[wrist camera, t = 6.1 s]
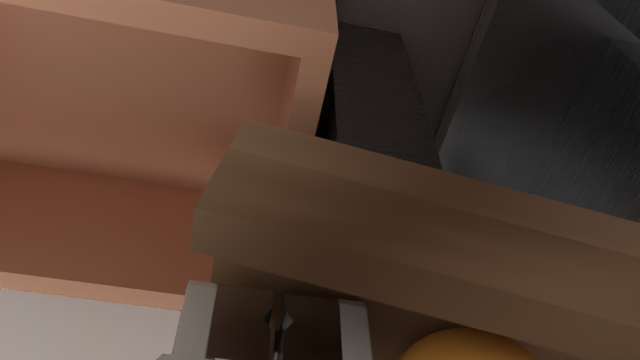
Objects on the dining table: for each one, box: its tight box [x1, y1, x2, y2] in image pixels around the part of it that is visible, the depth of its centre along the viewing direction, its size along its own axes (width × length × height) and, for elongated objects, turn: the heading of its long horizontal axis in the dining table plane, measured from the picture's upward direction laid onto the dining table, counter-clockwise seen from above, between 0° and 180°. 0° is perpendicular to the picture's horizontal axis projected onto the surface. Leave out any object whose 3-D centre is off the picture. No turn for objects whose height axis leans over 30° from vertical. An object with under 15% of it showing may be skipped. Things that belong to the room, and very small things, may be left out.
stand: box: [315, 0, 640, 223], centre depth 14 cm, size 12×13×10 cm
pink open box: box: [0, 0, 339, 311], centre depth 15 cm, size 10×8×5 cm
